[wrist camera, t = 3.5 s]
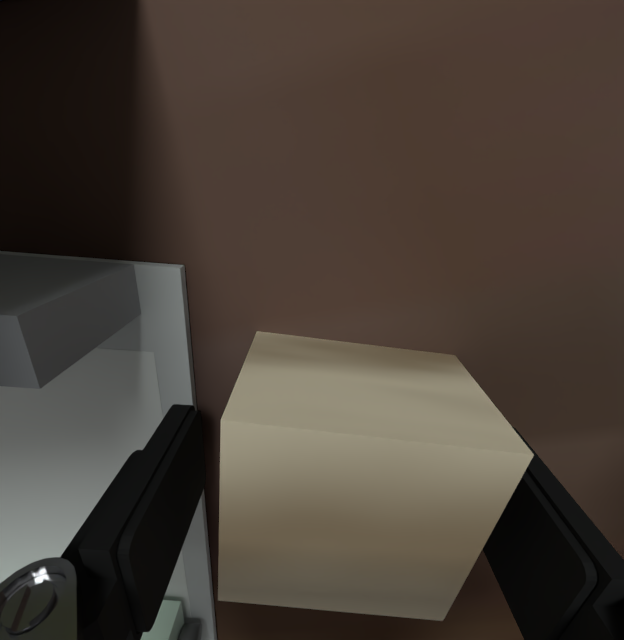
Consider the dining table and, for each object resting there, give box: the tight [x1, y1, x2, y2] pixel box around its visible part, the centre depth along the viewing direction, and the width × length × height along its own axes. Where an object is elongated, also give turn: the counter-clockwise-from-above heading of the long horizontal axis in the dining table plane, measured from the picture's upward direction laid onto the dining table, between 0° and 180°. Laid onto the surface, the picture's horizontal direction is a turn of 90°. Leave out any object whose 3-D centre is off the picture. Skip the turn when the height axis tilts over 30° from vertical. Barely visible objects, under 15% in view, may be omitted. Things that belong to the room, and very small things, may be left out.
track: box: [0, 251, 217, 640], centre depth 13 cm, size 30×12×4 cm, turn 176°
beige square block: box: [218, 331, 534, 621], centre depth 9 cm, size 6×6×4 cm
